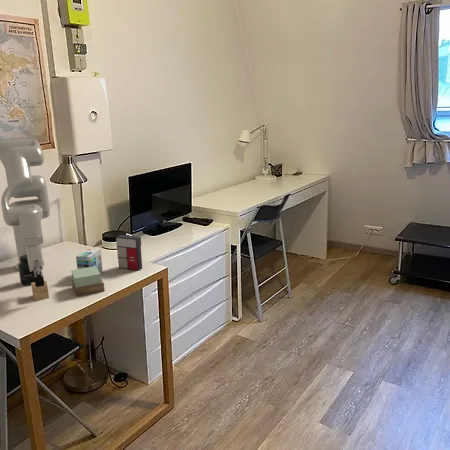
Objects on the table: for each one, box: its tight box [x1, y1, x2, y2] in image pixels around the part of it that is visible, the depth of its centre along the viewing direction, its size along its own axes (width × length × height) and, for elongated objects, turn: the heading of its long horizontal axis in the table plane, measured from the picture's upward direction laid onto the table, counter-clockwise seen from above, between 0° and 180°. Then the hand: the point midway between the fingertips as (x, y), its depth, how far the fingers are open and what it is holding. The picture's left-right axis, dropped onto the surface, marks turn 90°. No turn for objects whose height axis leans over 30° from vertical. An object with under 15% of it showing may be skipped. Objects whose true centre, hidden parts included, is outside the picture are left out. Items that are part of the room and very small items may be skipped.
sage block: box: [70, 266, 102, 288], centre depth 187 cm, size 10×10×4 cm
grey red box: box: [115, 234, 143, 271], centre depth 209 cm, size 11×4×15 cm, turn 68°
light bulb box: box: [75, 248, 104, 275], centre depth 202 cm, size 11×7×11 cm, turn 168°
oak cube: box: [30, 279, 50, 301], centre depth 182 cm, size 6×6×6 cm
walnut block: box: [70, 278, 106, 298], centre depth 188 cm, size 11×11×4 cm
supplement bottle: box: [18, 255, 35, 286], centre depth 196 cm, size 7×7×12 cm
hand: (38, 282), depth 181 cm, fingers open, 9 cm apart
